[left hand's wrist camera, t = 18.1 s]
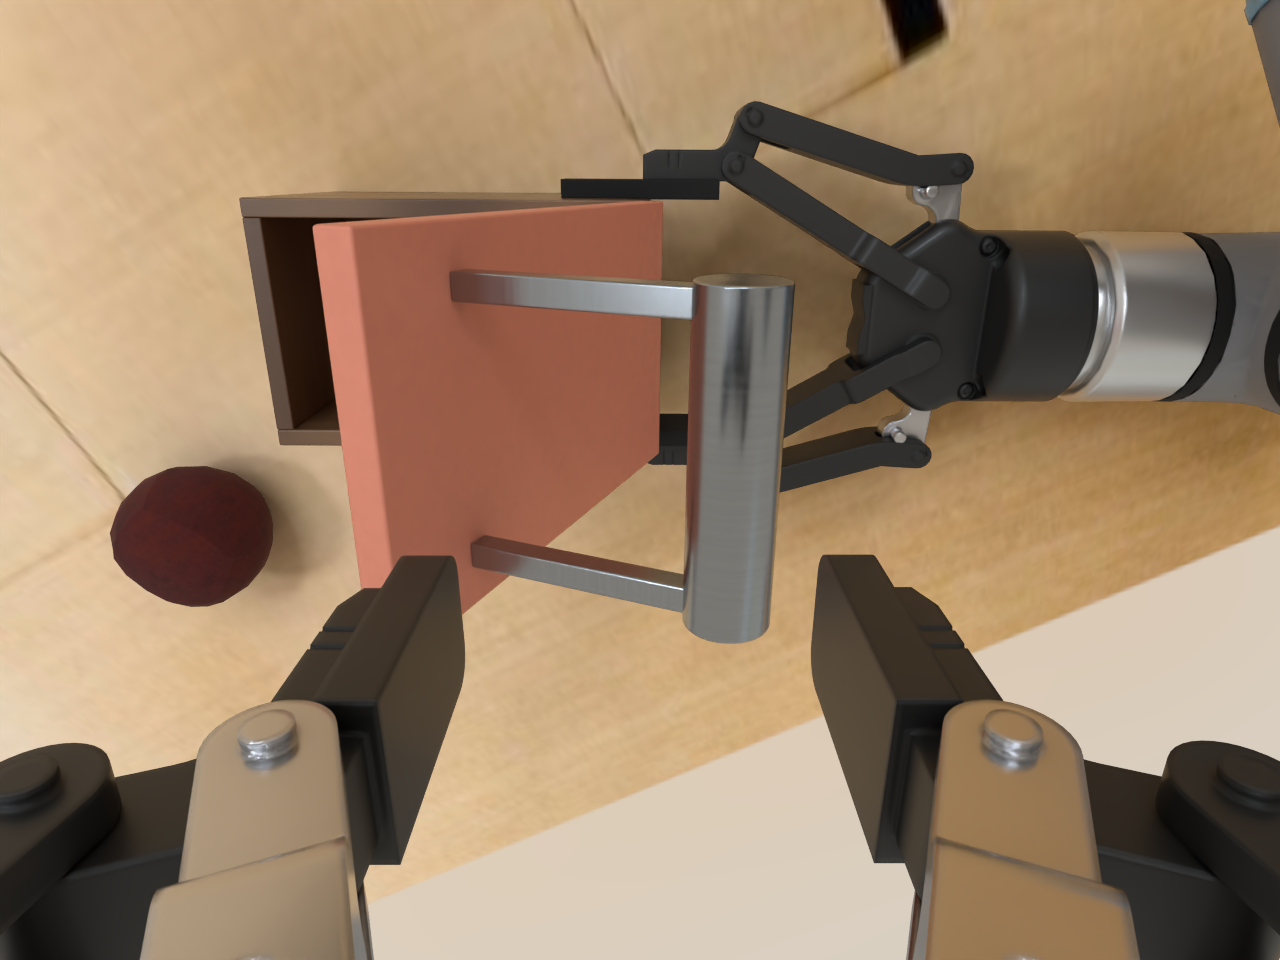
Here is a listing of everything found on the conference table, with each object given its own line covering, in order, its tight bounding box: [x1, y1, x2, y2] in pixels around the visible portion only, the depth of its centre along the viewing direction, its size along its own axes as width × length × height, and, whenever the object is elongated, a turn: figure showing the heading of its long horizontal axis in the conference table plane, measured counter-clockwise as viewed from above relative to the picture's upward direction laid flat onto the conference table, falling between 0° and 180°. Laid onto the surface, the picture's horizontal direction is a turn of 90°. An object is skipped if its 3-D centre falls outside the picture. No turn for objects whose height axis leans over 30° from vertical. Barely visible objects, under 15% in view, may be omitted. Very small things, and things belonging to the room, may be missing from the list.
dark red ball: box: [110, 466, 273, 607], centre depth 43 cm, size 7×8×7 cm
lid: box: [313, 201, 795, 644], centre depth 23 cm, size 17×10×9 cm
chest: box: [239, 192, 650, 446], centre depth 37 cm, size 16×10×10 cm, turn 90°
